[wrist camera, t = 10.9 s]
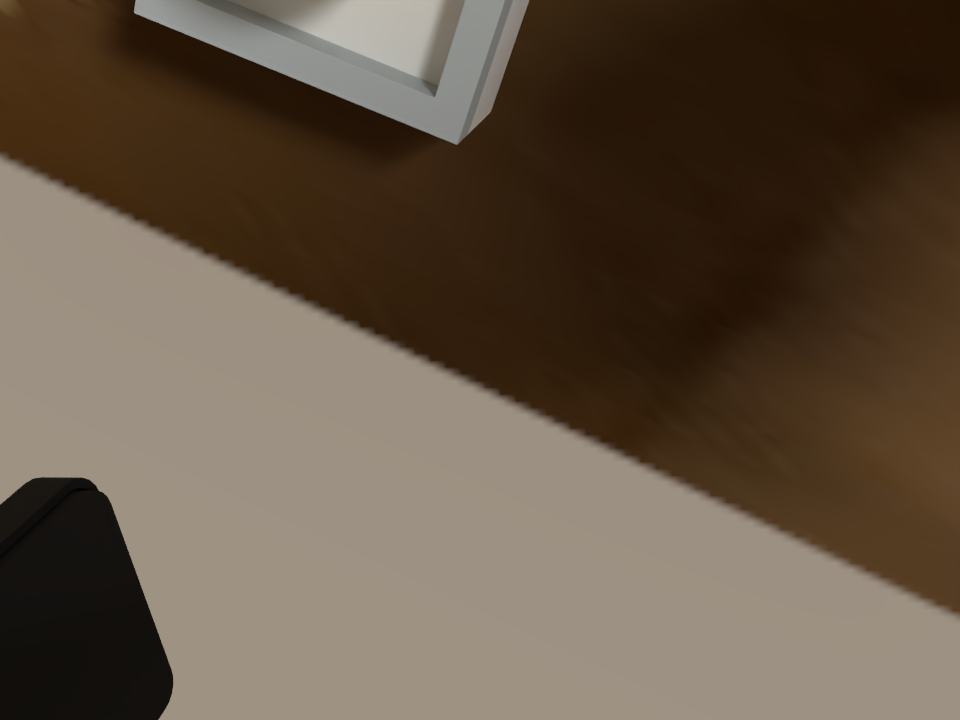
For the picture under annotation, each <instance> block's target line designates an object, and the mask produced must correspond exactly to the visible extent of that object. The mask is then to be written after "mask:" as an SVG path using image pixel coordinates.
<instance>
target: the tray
mask: <svg viewBox="0 0 960 720" xmlns="http://www.w3.org/2000/svg"><path fill="white" fill-rule="evenodd" d="M528 3H529V0H136V1H135V9H134V13H135V14H137V15H140V16H142V17H145V18H147V19H150V20H152V21H155V22H157V23H159V24H162V25H164V26H167V27H169V28H172V29H174V30H177V31H179V32H182V33H184V34H186V35H189V36H191V37H194V38H196V39H199V40H201V41H204V42H206V43H208V44H211V45H213V46H216V47H218V48H221V49H223V50H226V51H228V52H231V53H233V54H235V55H238V56H240V57H243V58H245V59H248V60H250V61H253V62H255V63H257V64H260V65H262V66H265V67H267V68H270V69H272V70H275V71H277V72H280V73H282V74H284V75H287V76H289V77H292V78H294V79H297V80H299V81H302V82H304V83H306V84H309V85H311V86H314V87H316V88H319V89H321V90H324V91H326V92H329V93H331V94H333V95H336V96H338V97H341V98H343V99H346V100H348V101H351V102H353V103H356V104H358V105H360V106H363V107H365V108H368V109H370V110H373V111H375V112H378V113H380V114H382V115H385V116H387V117H390V118H392V119H395V120H397V121H400V122H402V123H405V124H407V125H409V126H412V127H414V128H417V129H419V130H422V131H424V132H427V133H429V134H431V135H434V136H436V137H439V138H441V139H444V140H446V141H449V142H451V143H454V144H456V145H458V144H459V143H460V142H461V141H462V140H463V139H464V138H465V137H466V136H467V135H468V134H469V133H470V132H471V131H472V130H473V129H474V128H475V127H476V126H477V125H478V124H479V123H480V122H481V121H482V120H483V119H484V118H485V117H486V116H487V115H488V114H489V113H490V112H491V110H492V107H493V104H494V101H495V98H496V95H497V93H498V90H499V87H500V84H501V81H502V78H503V75H504V72H505V69H506V66H507V64H508V61H509V58H510V55H511V52H512V49H513V46H514V43H515V40H516V38H517V35H518V32H519V29H520V26H521V23H522V20H523V17H524V14H525V11H526V9H527V6H528Z"/></svg>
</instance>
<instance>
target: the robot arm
mask: <svg viewBox="0 0 960 720" xmlns="http://www.w3.org/2000/svg"><path fill="white" fill-rule="evenodd" d="M172 689H173V675H172V670H171V667H170V665H169V662H168V659H167V656H166V654H165V651H164V648H163V645H162V643H161V640H160V637H159V634H158V632H157V629H156V626H155V623H154V621H153V618H152V615H151V613H150V610H149V607H148V604H147V601H146V599H145V596H144V593H143V590H142V588H141V585H140V582H139V579H138V577H137V574H136V571H135V568H134V566H133V563H132V560H131V558H130V555H129V552H128V550H127V546H126V544H125V541H124V538H123V535H122V533H121V530H120V527H119V525H118V522H117V519H116V516H115V514H114V511H113V508H112V505H111V503H110V501H109V499H108V497H107V496H106V495H105V494H104V493H102V492H99V491H98V489H97V487H96V485H94V484H93V483H92V482H91V481H90V480H87V479H85V478H43V477H42V478H35V479H32V480H30V481H29V482H27V483H25V484H24V485H23V486H22V487H21V488H19V489H18V490H17V491H16V492H15V493H14V494H12V495H11V496H10V497H9V498H8V499H7V500H5V501H4V502H3V503H2V504H1V505H0V720H158V719H159V718H160V716H161V714H162V713H163V712H164V710H165V708H166V707H167V705H168V703H169V700H170V697H171V694H172Z"/></svg>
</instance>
